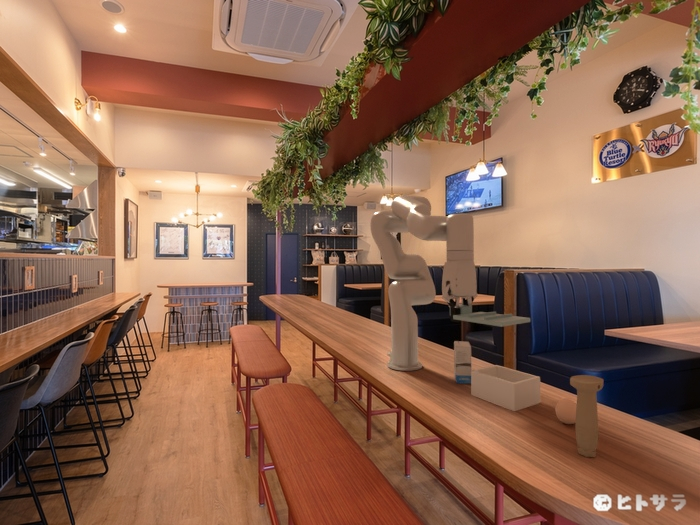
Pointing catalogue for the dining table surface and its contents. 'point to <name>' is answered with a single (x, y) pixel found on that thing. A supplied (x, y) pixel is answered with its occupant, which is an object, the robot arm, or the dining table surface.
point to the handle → (586, 413)
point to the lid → (488, 317)
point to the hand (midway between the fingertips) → (460, 320)
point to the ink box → (462, 362)
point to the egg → (566, 411)
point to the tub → (505, 387)
